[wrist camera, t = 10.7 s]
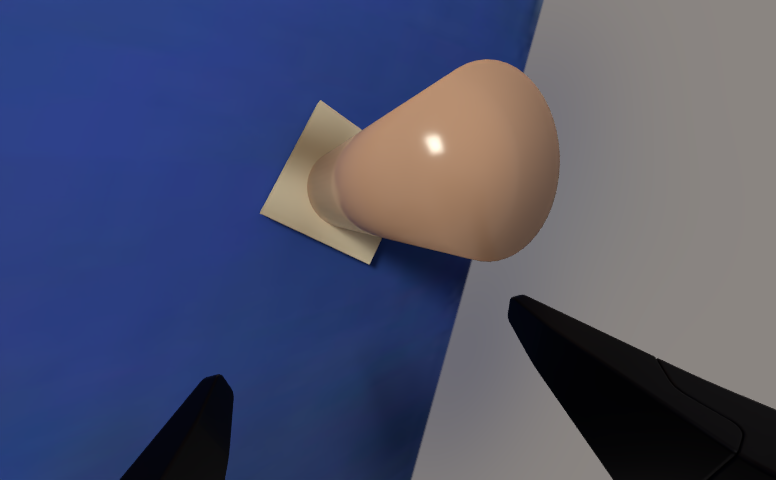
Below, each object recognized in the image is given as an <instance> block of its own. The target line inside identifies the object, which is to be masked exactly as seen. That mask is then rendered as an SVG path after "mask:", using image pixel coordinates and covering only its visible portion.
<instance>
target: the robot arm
mask: <svg viewBox="0 0 776 480" xmlns="http://www.w3.org/2000/svg"><path fill="white" fill-rule="evenodd" d="M508 319H509V322H510V324H511V325H512V327H513V329H514V331H515V333H516V335H517V336H518V338H519V340H520V342H521V343H522V345H523V347H524V349H525V351H526V353H527V354H528V356H529V358H530V359H531V361H532V363H533V365H534V366H535V368H536V369H537V371H538V372H539V373H540V375H541V376H542V378H543V379H544V381H545V382H546V384H547V385H548V387H549V388H550V389H551V391H552V392H553V394H554V395H555V397H556V398H557V400H558V401H559V402H560V404H561V405H562V407H563V408H564V410H565V411H566V412H567V414H568V415H569V417H570V418H571V420H572V421H573V422H574V424H575V425H576V427H577V428H578V430H579V431H580V432H581V434H582V436H583V437H584V438H585V440H586V441H587V443H588V444H589V446H590V447H591V448H592V450H593V451H594V453H595V454H596V456H597V457H598V458H599V460H600V461H601V463H602V464H603V466H604V467H605V469H606V470H607V471H608V473H609V474H610V476H611V477H612V479H613V480H776V410H775V409H773V408H771V407H768V406H766V405H763V404H761V403H759V402H756V401H754V400H751V399H749V398H746V397H744V396H741V395H739V394H737V393H734V392H732V391H730V390H727V389H725V388H722V387H720V386H718V385H716V384H713V383H711V382H709V381H706V380H704V379H702V378H700V377H697V376H695V375H693V374H691V373H689V372H686V371H684V370H682V369H680V368H678V367H675V366H673V365H671V364H669V363H667V362H665V361H663V360H660V359H658V358H657V359H656V358H655V357H654V356H652V355H650V354H648V353H646V352H644V351H642V350H640V349H637V348H635V347H633V346H631V345H629V344H627V343H625V342H622V341H621V340H618V339H616V338H614V337H612V336H610V335H608V334H606V333H604V332H601V331H600V330H597V329H595V328H593V327H591V326H589V325H587V324H585V323H582V322H581V321H578V320H576V319H574V318H572V317H570V316H568V315H566V314H563V313H562V312H559V311H557V310H555V309H553V308H551V307H549V306H547V305H545V304H543V303H541V302H538V301H536V300H534V299H532V298H530V297H528V296H525V295H518V296H515V297H512V298H511V299H510V304H509V310H508ZM233 400H234V396H233V391H232V389H231V387H230V386H229V385H228V383H227V382H226V380H225V379H224V377H223V376H222V375H220V374H217V375H213V376H209V377H206V378H204V379H203V380H202V381H201V382H200V383H199V384H198V386H197V387H196V388H195V389H194V390H193V392H192V393H191V394H190V395H189V397H188V398H187V399H186V400H185V401H184V403H183V404H182V405H181V406H180V407H179V409H178V410H177V411H176V412H175V413H174V415H173V416H172V417H171V418H170V419H169V421H168V422H167V423H166V424H165V425H164V427H163V428H162V429H161V430H160V432H159V433H158V434H157V435H156V436H155V438H154V439H153V440H152V441H151V442H150V444H149V445H148V446H147V447H146V448H145V450H144V451H143V452H142V453H141V454H140V456H139V457H138V458H137V459H136V460H135V462H134V463H133V464H132V465H131V467H130V468H129V469H128V470H127V471H126V473H125V474H124V475H123V476H122V477H121V479H120V480H225V475H226V470H227V464H228V458H229V449H230V437H231V425H232V412H233Z"/></svg>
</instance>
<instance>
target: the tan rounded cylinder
mask: <svg viewBox="0 0 776 480" xmlns="http://www.w3.org/2000/svg"><path fill="white" fill-rule="evenodd" d="M559 157H560V155H559V143H558V137H557V131H556V128H555V124H554V120H553V117H552V115H551V112H550V109H549V107H548V105H547V103H546V101H545V99H544V97H543V95H542V94H541V92H540V91H539V89H538V88H537V87H536V85H535V84H534V83H533V82H532V81H531V80H530V79H529V78H528V77H527V76H526V75H525V74H524V73H523V72H521V71H520V70H518V69H517V68H516V67H513V66H511V65H509V64H507V63H504V62H501V61H498V60H488V59H487V60H477V61H474V62H470V63H467V64H465V65H463V66H461V67H459V68H457V69H456V70H454V71H453V72H451V73H450V74H448V75H447V76H445V77H444V78H442V79H440V80H439V81H437V82H436V83H434V84H433V85H431V86H430V87H428V88H427V89H425V90H423V91H422V92H420V93H419V94H417V95H416V96H414V97H413V98H411V99H410V100H408V101H407V102H405V103H403V104H402V105H400V106H399V107H397V108H396V109H394V110H393V111H391V112H390V113H388V114H386V115H385V116H383V117H382V118H380V119H379V120H377V121H376V122H374V123H373V124H371V125H370V126H368V127H366V128H365V129H363V130H362V131H360V132H359V133H357V134H356V135H354V136H353V137H351V138H349V139H348V140H346V141H345V142H343V143H342V144H340V145H339V146H337V147H336V148H334V149H333V150H331V151H329V152H328V153H326V154H325V155H323V156H322V157H321V158H319V159H318V160H317V161H316V163H315V164H314V165H313V167H312V169H311V171H310V173H309V176H308V181H307V193H308V198H309V201H310V204H311V206H312V208H313V209H314V211H315V212H316V213H317V215H318V216H319V217H320V218H321V219H323V220H324V221H325V222H327V223H329V224H331V225H333V226H336V227H340V228H344V229H348V230H353V231H357V232H361V233H365V234H369V235H373V236H377V237H382V238H386V239H390V240H394V241H398V242H402V243H406V244H411V245H415V246H419V247H423V248H427V249H431V250H435V251H439V252H444V253H448V254H452V255H456V256H460V257H464V258H468V259H473V260H477V261H487V262H491V261H499V260H501V259H505V258H508V257H510V256H512V255H514V254H516V253H517V252H519V251H520V250H522V249H523V248H524V247H525V246H527V245H528V244H529V243H530V242H531V241H532V239H533V238H534V237H535V236H536V235H537V233H538V232H539V230H540V229H541V228H542V226H543V224H544V222H545V221H546V219H547V217H548V214H549V212H550V210H551V207H552V204H553V201H554V198H555V194H556V190H557V185H558V178H559V166H560V159H559Z"/></svg>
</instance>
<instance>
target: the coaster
mask: <svg viewBox="0 0 776 480" xmlns="http://www.w3.org/2000/svg"><path fill="white" fill-rule="evenodd" d="M360 131H362V130H361V129H360V128H358V127H357V126H355V125H354V124H353V123H351V122H350V121H349V120H347V119H346V118H344V117H343V116H342V115H340V114H339V113H337V112H336V111H335V110H333V109H332V108H330V107H329V106H328V105H326V104H325V103H324V102H322V101H321V100H320V101H319V103H318V104H317V106H316V108H315V110H314V112H313V113H312V115H311V117H310V119H309V121H308V123H307V125H306V127H305V129H304V131H303V132H302V134H301V136H300V138H299V140H298V142H297V144H296V146H295V148H294V149H293V151H292V153H291V155H290V157H289V159H288V161H287V163H286V165H285V166H284V168H283V170H282V172H281V174H280V176H279V178H278V180H277V182H276V183H275V185H274V187H273V189H272V191H271V193H270V195H269V197H268V199H267V200H266V202H265V204H264V206H263V208H262V210H261V212H260V214H262V215H265V216H267V217H269V218H271V219H273V220H275V221H277V222H280V223H282V224H284V225H286V226H288V227H290V228H292V229H294V230H297V231H299V232H301V233H303V234H305V235H307V236H309V237H311V238H314V239H316V240H318V241H320V242H322V243H324V244H326V245H329V246H331V247H333V248H335V249H337V250H339V251H341V252H343V253H346V254H348V255H350V256H352V257H354V258H356V259H358V260H360V261H363V262H365V263H367V264H369V265H370V263H371V260H372V258H373V256H374V254H375V252H376V250H377V248H378V246H379V243H380V241H381V239H382V237H377V236H373V235H369V234H365V233H361V232H357V231H353V230H348V229H344V228H340V227H336V226H333V225H331V224H329V223H327V222H325V221H324V220H323V219H321V218H320V217H319V216H318V215H317V213H316V212H315V211H314V209H313V208H312V206H311V204H310V201H309V198H308V193H307V181H308V176H309V173H310V171H311V169H312V167H313V165H314V164H315V163H316V161H317V160H318V159H319V158H321V157H322V156H323V155H325V154H326V153H328V152H329V151H331V150H333V149H334V148H336V147H337V146H339V145H340V144H342V143H343V142H345V141H346V140H348V139H349V138H351V137H353V136H354V135H356V134H357V133H359V132H360Z"/></svg>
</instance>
